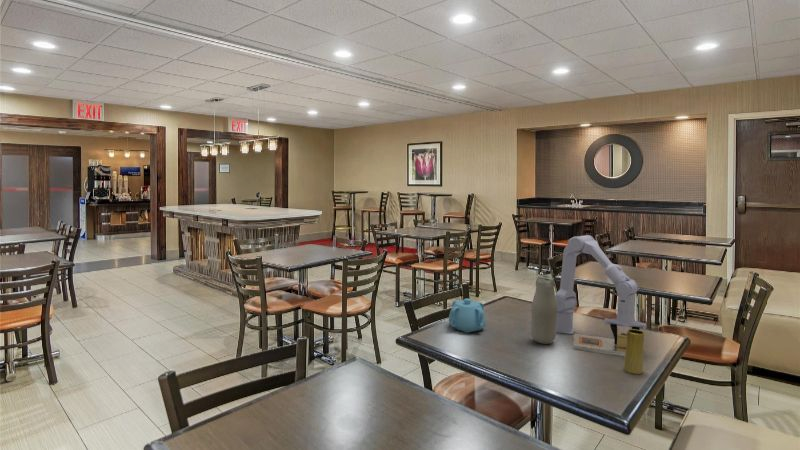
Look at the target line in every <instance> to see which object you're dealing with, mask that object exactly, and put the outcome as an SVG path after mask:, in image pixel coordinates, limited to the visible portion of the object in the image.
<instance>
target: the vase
mask: <svg viewBox="0 0 800 450" xmlns="http://www.w3.org/2000/svg"><path fill="white" fill-rule="evenodd" d="M644 343H645V332H644V331H643V330H641V329H640V330H636V329H632V328H629V330H628V331H627V345H626V354H625V357H624V364H623V370H624V371H625V372H627V373H629V374H633V375H642V374H644Z"/></svg>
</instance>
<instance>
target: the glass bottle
mask: <svg viewBox="0 0 800 450" xmlns="http://www.w3.org/2000/svg"><path fill="white" fill-rule="evenodd" d="M555 295H556V293H555V279H554V278H553V277H552V276H550V275H544V274H543V275H538V276H537V277H536V281H535V292H534V295H533V298H532V302H531V323H530V324H531V325H530V326H531V327H530V329H531V332H530V333H531V337H532V339H533V341H535V342H536V343H539V344H542V345H549V344H551V343H553V342H554V341H555V340H556V336H557V332H556V327H557V307H558V306H557V300H556V297H555Z"/></svg>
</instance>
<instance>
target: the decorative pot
mask: <svg viewBox="0 0 800 450" xmlns="http://www.w3.org/2000/svg"><path fill="white" fill-rule="evenodd" d="M451 306H452V307H451V309H450V311H449V314H448V322H449V325H450V326H451V327H452V328H453V329H455V330H458V331H462V332H463V333H465V334H469V333H471V332H477V331H480V330H483V328H484V327H486V323H487V320H486V318H487V317H486V314H485V311H484V307H485V306H484V303H482V302H481V301H473V300H472V299H471V298H463V300H454V301H453V302H452V305H451Z"/></svg>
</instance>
